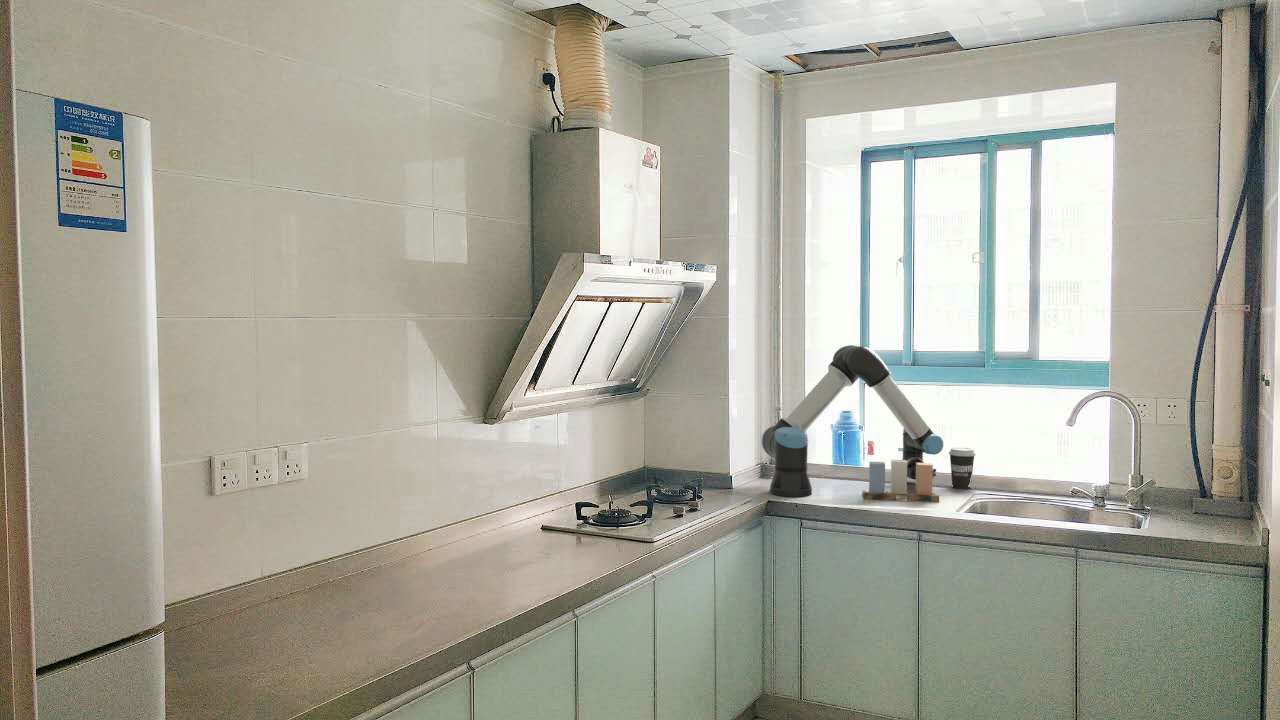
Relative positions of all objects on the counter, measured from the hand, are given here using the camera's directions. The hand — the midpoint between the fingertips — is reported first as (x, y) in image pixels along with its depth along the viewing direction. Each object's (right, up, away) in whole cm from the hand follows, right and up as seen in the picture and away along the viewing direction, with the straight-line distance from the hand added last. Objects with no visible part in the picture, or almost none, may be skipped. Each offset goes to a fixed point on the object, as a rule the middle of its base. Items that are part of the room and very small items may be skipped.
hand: (924, 479), depth 318 cm
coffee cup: (+21, -7, +22) cm, 31 cm away
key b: (-8, -6, +4) cm, 11 cm away
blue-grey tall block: (-17, -6, 0) cm, 18 cm away
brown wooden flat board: (-8, -7, +2) cm, 11 cm away
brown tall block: (-1, -7, -2) cm, 7 cm away
